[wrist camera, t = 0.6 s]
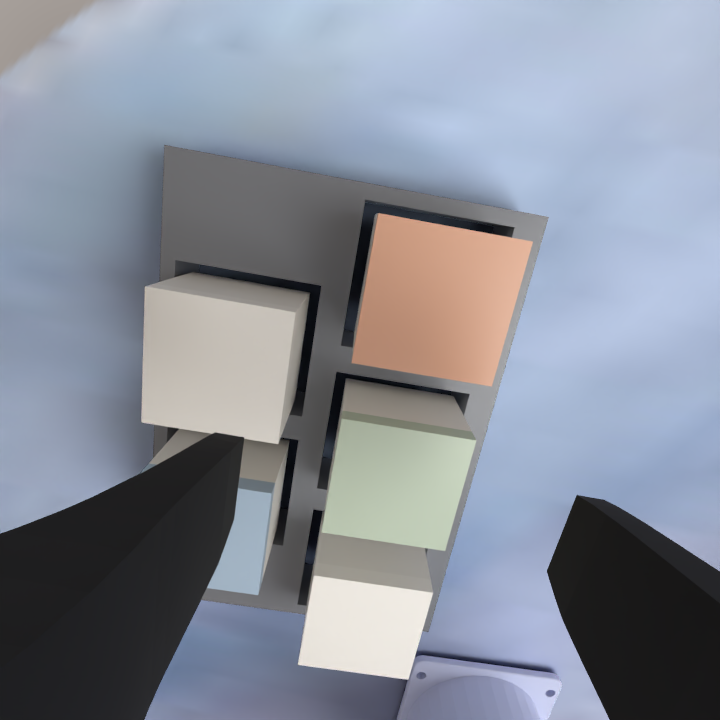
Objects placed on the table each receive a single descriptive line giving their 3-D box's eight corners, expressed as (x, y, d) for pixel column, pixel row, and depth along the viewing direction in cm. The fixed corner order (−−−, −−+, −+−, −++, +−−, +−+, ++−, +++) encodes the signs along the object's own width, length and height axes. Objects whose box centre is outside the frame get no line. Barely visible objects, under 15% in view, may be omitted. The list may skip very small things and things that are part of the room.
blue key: (277, 526, 19) (257, 595, 15) (178, 512, 19) (137, 578, 15) (289, 440, 18) (271, 493, 14) (184, 423, 17) (139, 473, 14)
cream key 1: (295, 398, 17) (278, 444, 14) (186, 381, 17) (141, 422, 13) (310, 292, 16) (295, 312, 12) (192, 271, 16) (145, 286, 12)
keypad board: (421, 589, 22) (428, 631, 20) (171, 552, 21) (148, 592, 19) (523, 217, 17) (548, 217, 14) (192, 155, 16) (164, 145, 14)
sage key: (429, 488, 18) (445, 551, 15) (329, 472, 18) (321, 532, 15) (453, 396, 17) (476, 440, 14) (346, 378, 17) (341, 418, 13)
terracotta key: (464, 351, 16) (491, 386, 13) (354, 332, 16) (351, 363, 13) (494, 236, 15) (533, 241, 12) (374, 214, 15) (378, 212, 12)
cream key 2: (400, 600, 20) (408, 679, 17) (309, 587, 20) (297, 664, 16) (420, 524, 19) (433, 592, 15) (322, 509, 19) (314, 575, 15)
